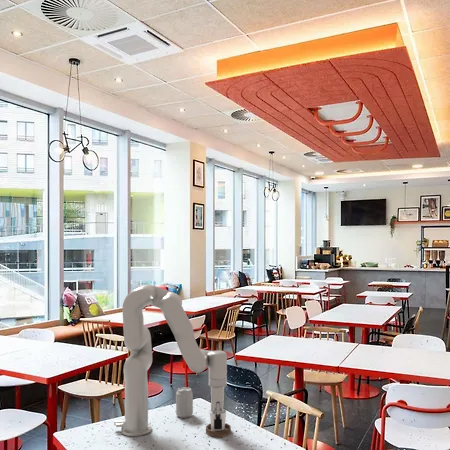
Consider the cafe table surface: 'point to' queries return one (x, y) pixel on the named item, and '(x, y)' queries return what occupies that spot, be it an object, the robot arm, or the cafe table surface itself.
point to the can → (184, 402)
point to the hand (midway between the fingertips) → (217, 425)
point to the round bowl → (218, 433)
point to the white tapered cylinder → (212, 417)
